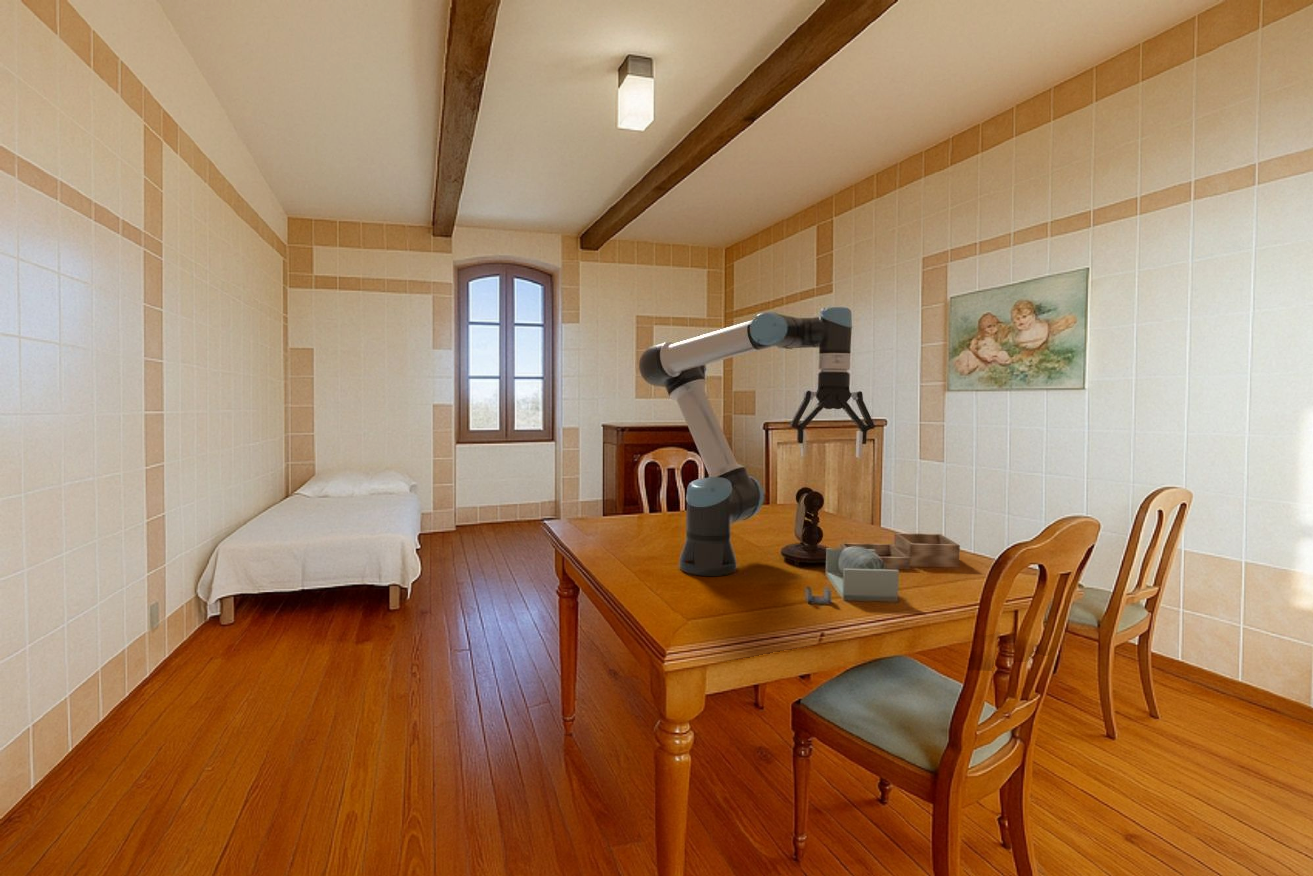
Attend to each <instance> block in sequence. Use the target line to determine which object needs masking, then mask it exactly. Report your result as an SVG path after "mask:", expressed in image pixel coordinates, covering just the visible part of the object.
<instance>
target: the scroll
mask: <svg viewBox="0 0 1313 876" xmlns="http://www.w3.org/2000/svg"><path fill="white" fill-rule="evenodd" d="M795 501H796V503H797V506H796V512H795V517H794V518H795V519H794V530H793V531H794V536H795V538H796V539H797V540H798V541H799V542H795V543H790V544H787V545H785V546H783V547H781V548H780V555H781V556H782V557H783V558H786V559H788V560H790V561H794V563H795V567H797V566H799V564H800V562H801V563H813V564H815V563H816V564H819V563H826V548H829V547H827V546H826V545H822V544H820V543H821V542H822V540H823V537H824V532H823V530H822V528H821V527H820V526H819V523H820V517H819V511H820V510H821V509H822V508H823V507H824V505H825V498H824V496H823V495H822V493H821V492H819V491H816V490H813V489H812V488H811V487H808V486H804V487H801V488H800V489H798V490H797V491H796V494H795Z"/></svg>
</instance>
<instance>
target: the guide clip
mask: <svg viewBox="0 0 1313 876" xmlns="http://www.w3.org/2000/svg"><path fill="white" fill-rule="evenodd" d="M805 600H806V602H807V604H809V605H832V590H831V589H830V587H829V586H824V596H823V595H813V590H812V588H811V586H809V585H808V586H807V585H806V586H805Z"/></svg>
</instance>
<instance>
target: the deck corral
mask: <svg viewBox="0 0 1313 876" xmlns="http://www.w3.org/2000/svg"><path fill="white" fill-rule="evenodd" d="M851 546H857V547H863V548H866V549H874V550H876V554H877V555H878V556H879V557H880V558H881V559H882V560H883V563H884V567H885V569H890V570H910V567H911V566H910V558H909V557H908V556H907V555H905V554H904V553H903V552H901V551H900V550H899V549H898V548H896V547H895V546H894V544H892V543H866V542H865V543H864V542H862V543H860V542H859V543H858V542H839V543H838V548H840V549H845V548H847V547H851Z"/></svg>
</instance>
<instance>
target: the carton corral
mask: <svg viewBox="0 0 1313 876" xmlns="http://www.w3.org/2000/svg"><path fill="white" fill-rule="evenodd" d="M893 545H894V546H895V547H896V548H898V549H899V550H900V551H901V552H903V553H904V554H905V555H907V556H908V557H909V558H910V567H926V568H927V567H928V568H929V567H930V568H931V567H932V568H934V567H935V568H959V565H960V549H961V545H960V544H958V543H956V542H955V541H953V540H951V539H949V538H948V537H946V536H945V535H943V534H941V533H911V532H910V533H906V532H902V533H901V532H895V533H894V542H893Z"/></svg>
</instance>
